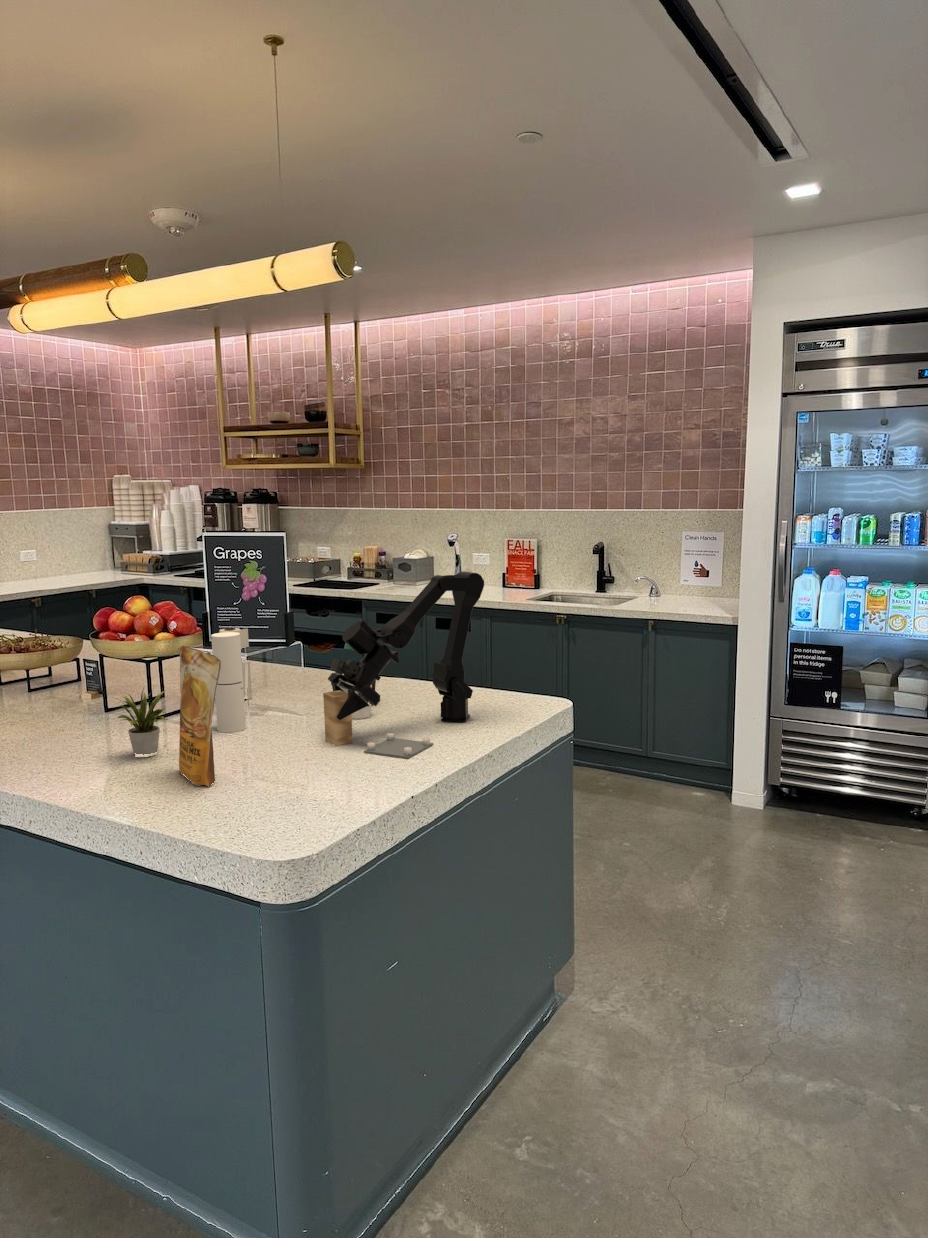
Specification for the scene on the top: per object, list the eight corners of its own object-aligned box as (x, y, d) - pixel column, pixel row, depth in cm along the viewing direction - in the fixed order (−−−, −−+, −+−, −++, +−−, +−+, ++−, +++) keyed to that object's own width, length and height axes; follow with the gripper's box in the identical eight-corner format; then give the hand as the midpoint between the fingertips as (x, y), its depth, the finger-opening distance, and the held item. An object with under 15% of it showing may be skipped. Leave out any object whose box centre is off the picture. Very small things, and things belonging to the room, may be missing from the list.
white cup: (375, 712, 249) (374, 676, 247) (370, 719, 241) (368, 683, 240) (347, 712, 250) (346, 676, 248) (341, 719, 242) (339, 683, 240)
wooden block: (342, 737, 225) (340, 690, 224) (352, 742, 220) (350, 694, 219) (325, 740, 223) (323, 692, 221) (335, 745, 218) (333, 697, 216)
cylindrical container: (211, 731, 234) (205, 635, 230) (230, 724, 240) (224, 631, 236) (232, 734, 230) (226, 637, 227) (251, 727, 237) (245, 633, 233)
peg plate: (390, 739, 222) (390, 731, 222) (433, 745, 217) (433, 736, 217) (363, 752, 212) (363, 744, 211) (408, 759, 206) (407, 750, 206)
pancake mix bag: (201, 763, 207) (193, 642, 202) (231, 785, 191) (222, 655, 187) (171, 769, 203) (162, 646, 199) (199, 791, 187) (190, 659, 183)
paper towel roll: (219, 702, 264) (214, 630, 261) (230, 697, 270) (226, 627, 267) (241, 703, 262) (236, 631, 259) (252, 698, 268) (247, 627, 264)
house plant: (104, 767, 205) (98, 697, 202) (111, 750, 218) (105, 684, 216) (170, 761, 209) (165, 692, 206) (173, 745, 222) (168, 680, 219)
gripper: (333, 640, 228) (294, 689, 224) (366, 651, 212) (325, 704, 208) (362, 667, 233) (325, 715, 229) (397, 679, 218) (358, 731, 214)
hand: (332, 716), depth 220 cm, fingers closed on wooden block, 6 cm apart
